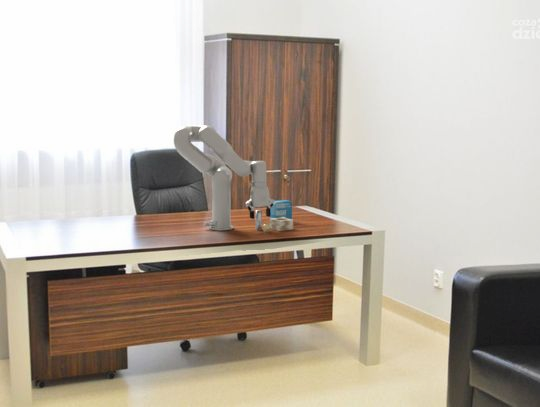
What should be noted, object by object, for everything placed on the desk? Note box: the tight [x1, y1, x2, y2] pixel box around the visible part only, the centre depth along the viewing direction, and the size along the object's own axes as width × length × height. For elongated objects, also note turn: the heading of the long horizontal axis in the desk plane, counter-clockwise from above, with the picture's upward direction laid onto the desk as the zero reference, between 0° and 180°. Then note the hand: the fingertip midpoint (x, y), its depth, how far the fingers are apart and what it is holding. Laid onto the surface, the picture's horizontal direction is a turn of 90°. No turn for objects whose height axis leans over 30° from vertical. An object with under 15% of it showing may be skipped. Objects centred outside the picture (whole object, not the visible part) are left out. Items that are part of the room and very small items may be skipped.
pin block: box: [269, 217, 294, 232], centre depth 378 cm, size 9×9×5 cm
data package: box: [269, 199, 293, 220], centre depth 395 cm, size 12×4×12 cm, turn 126°
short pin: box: [262, 223, 271, 234], centre depth 369 cm, size 3×3×4 cm
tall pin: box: [255, 209, 263, 231], centre depth 375 cm, size 3×3×10 cm
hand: (260, 217), depth 375 cm, fingers open, 9 cm apart
